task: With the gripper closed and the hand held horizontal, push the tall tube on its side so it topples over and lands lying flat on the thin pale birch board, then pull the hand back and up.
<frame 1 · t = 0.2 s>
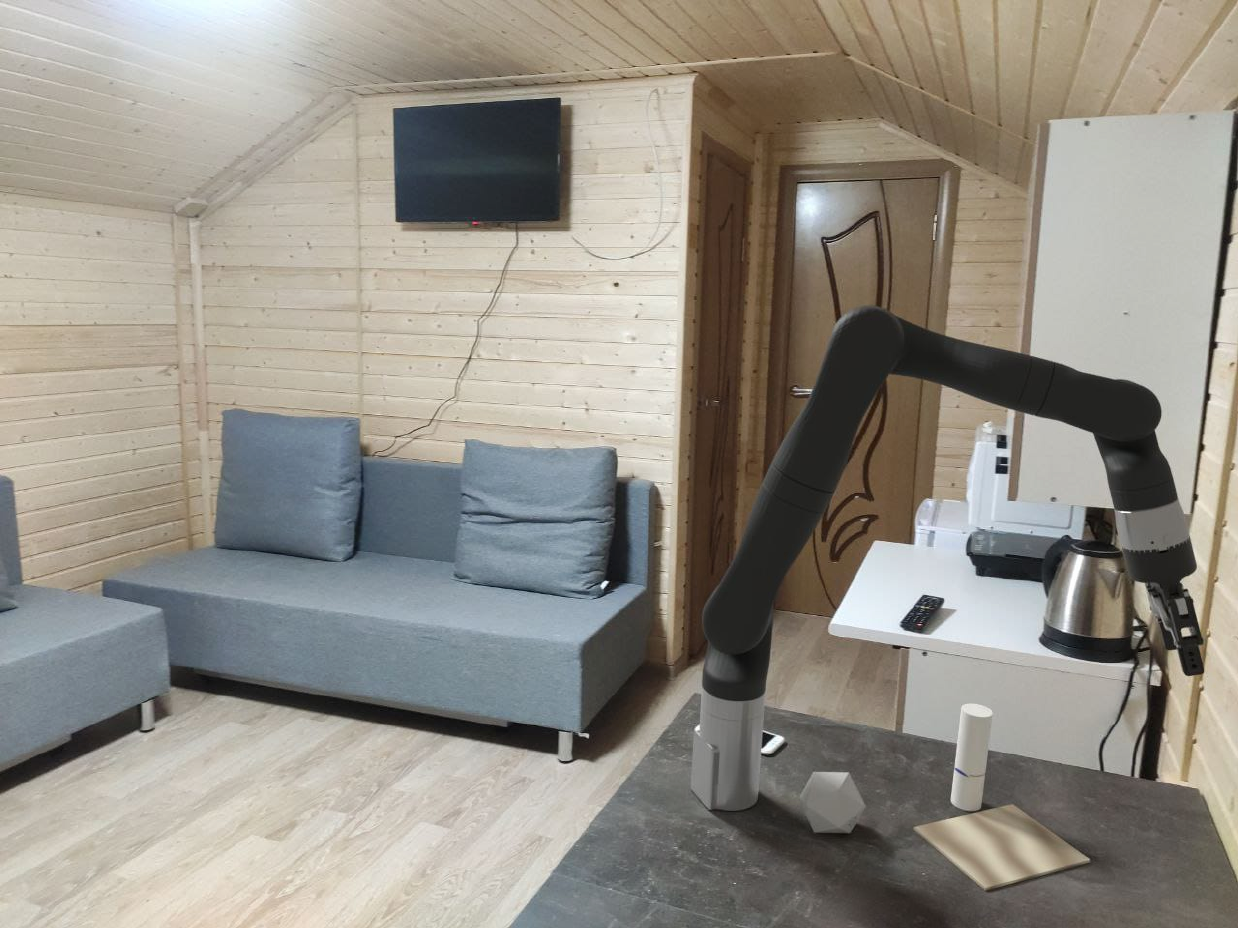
hand: (1184, 661, 116), 31 cm above the table, tool tilted 20°, fingers open, 8 cm apart
birch board: (999, 845, 129), on the table
die: (829, 827, 132), on the table
tube: (965, 804, 139), on the table
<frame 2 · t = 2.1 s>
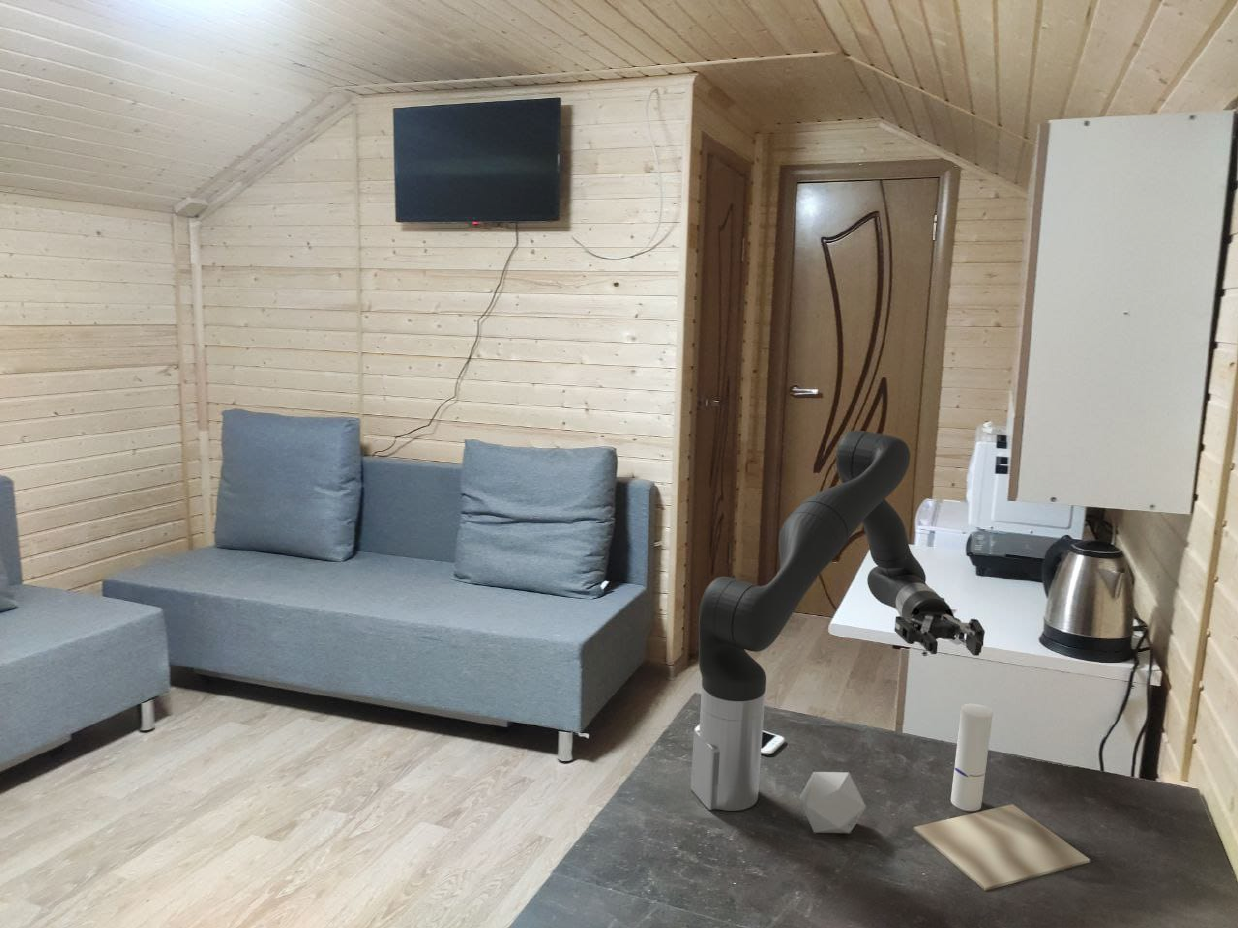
hand: (956, 649, 145), 20 cm above the table, tool horizontal, fingers open, 6 cm apart
nothing on the table moved.
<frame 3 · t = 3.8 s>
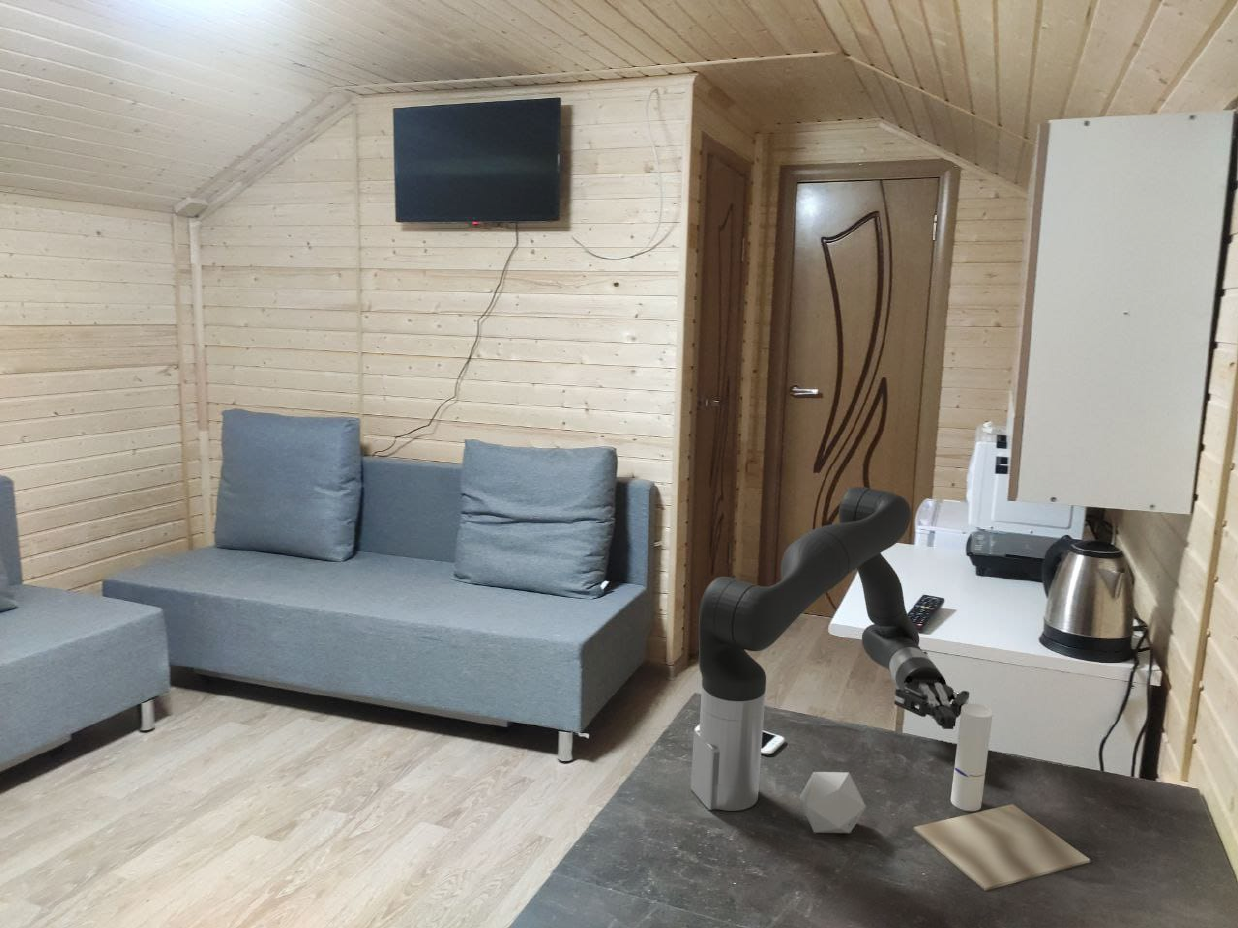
hand: (949, 723, 147), 8 cm above the table, tool horizontal, fingers closed
nothing on the table moved.
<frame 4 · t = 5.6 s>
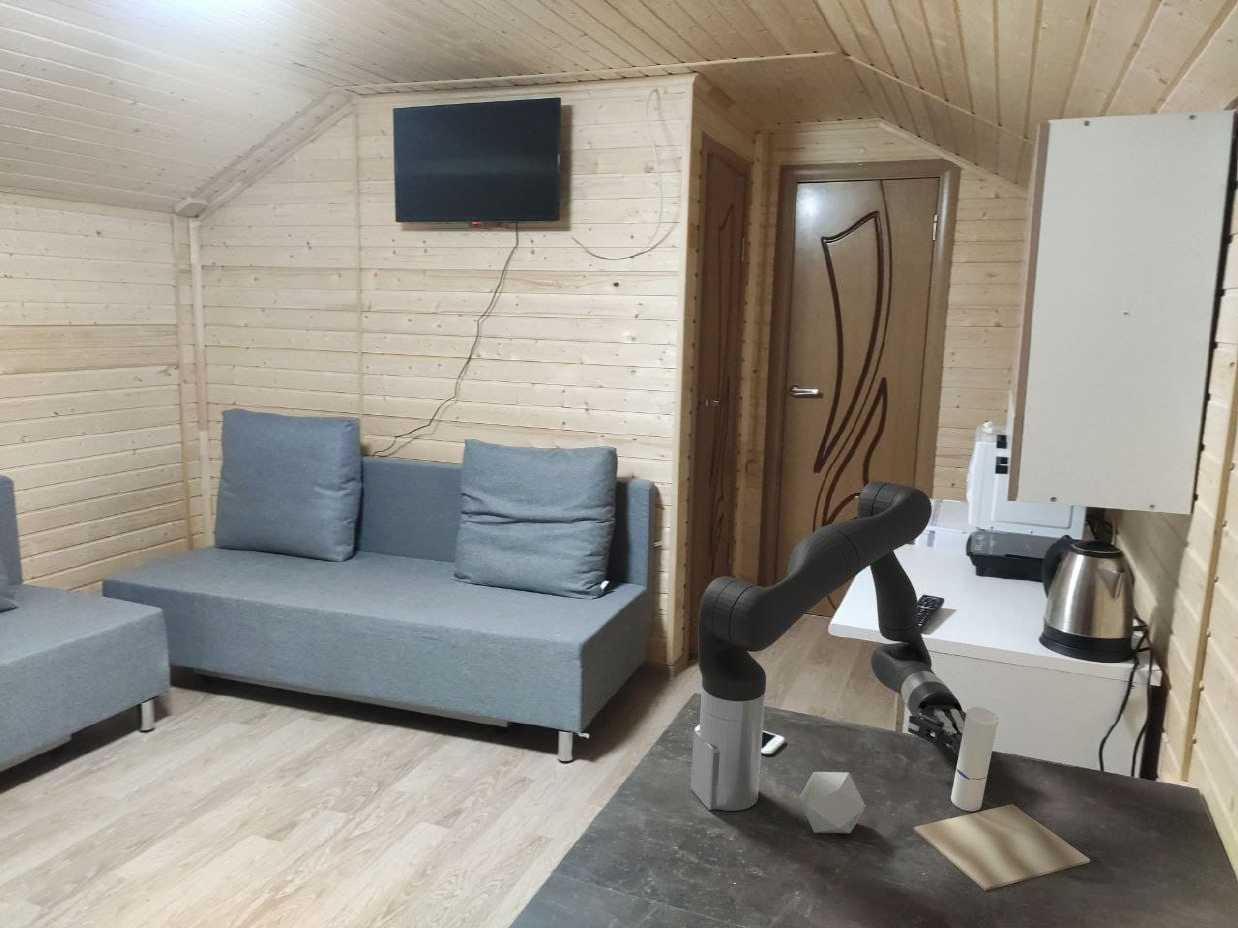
hand: (967, 752, 139), 7 cm above the table, tool horizontal, fingers closed
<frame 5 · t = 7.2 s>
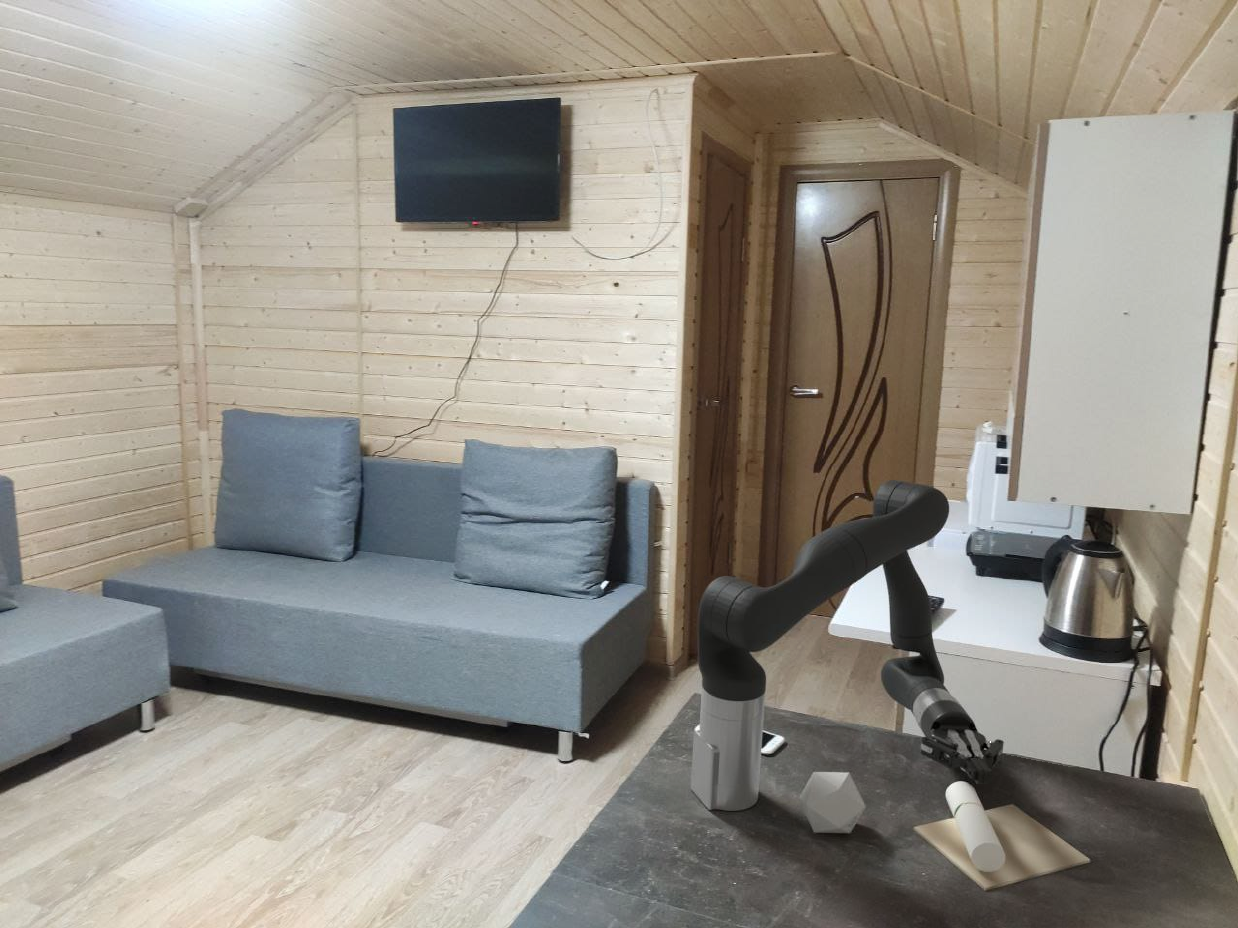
hand: (983, 778, 133), 7 cm above the table, tool horizontal, fingers closed
tube: (960, 793, 137), point 3 cm above the table, touching birch board
everything else where it was.
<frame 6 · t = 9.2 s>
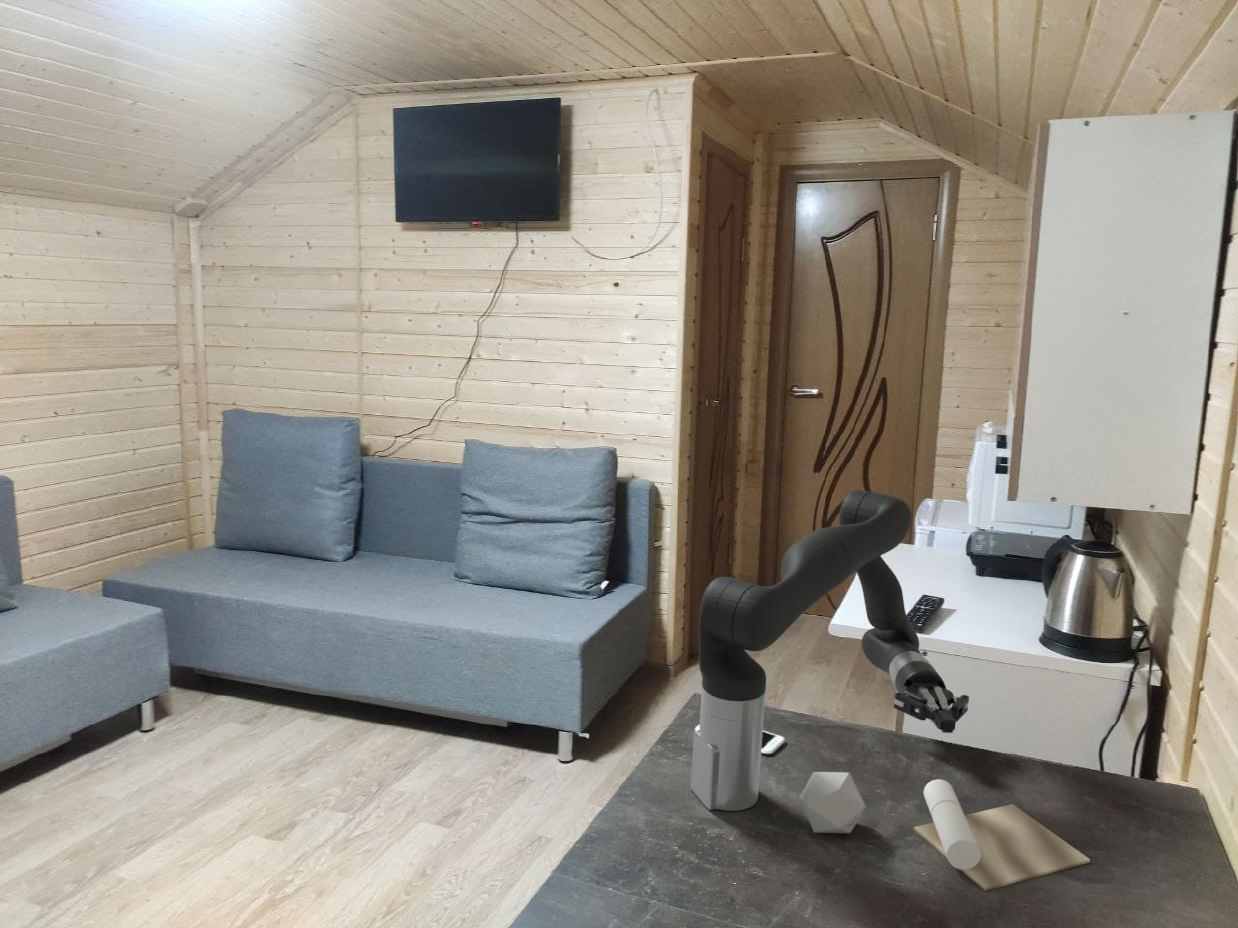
hand: (949, 727, 147), 7 cm above the table, tool horizontal, fingers closed
tube: (938, 791, 137), point 3 cm above the table, touching birch board
everything else where it was.
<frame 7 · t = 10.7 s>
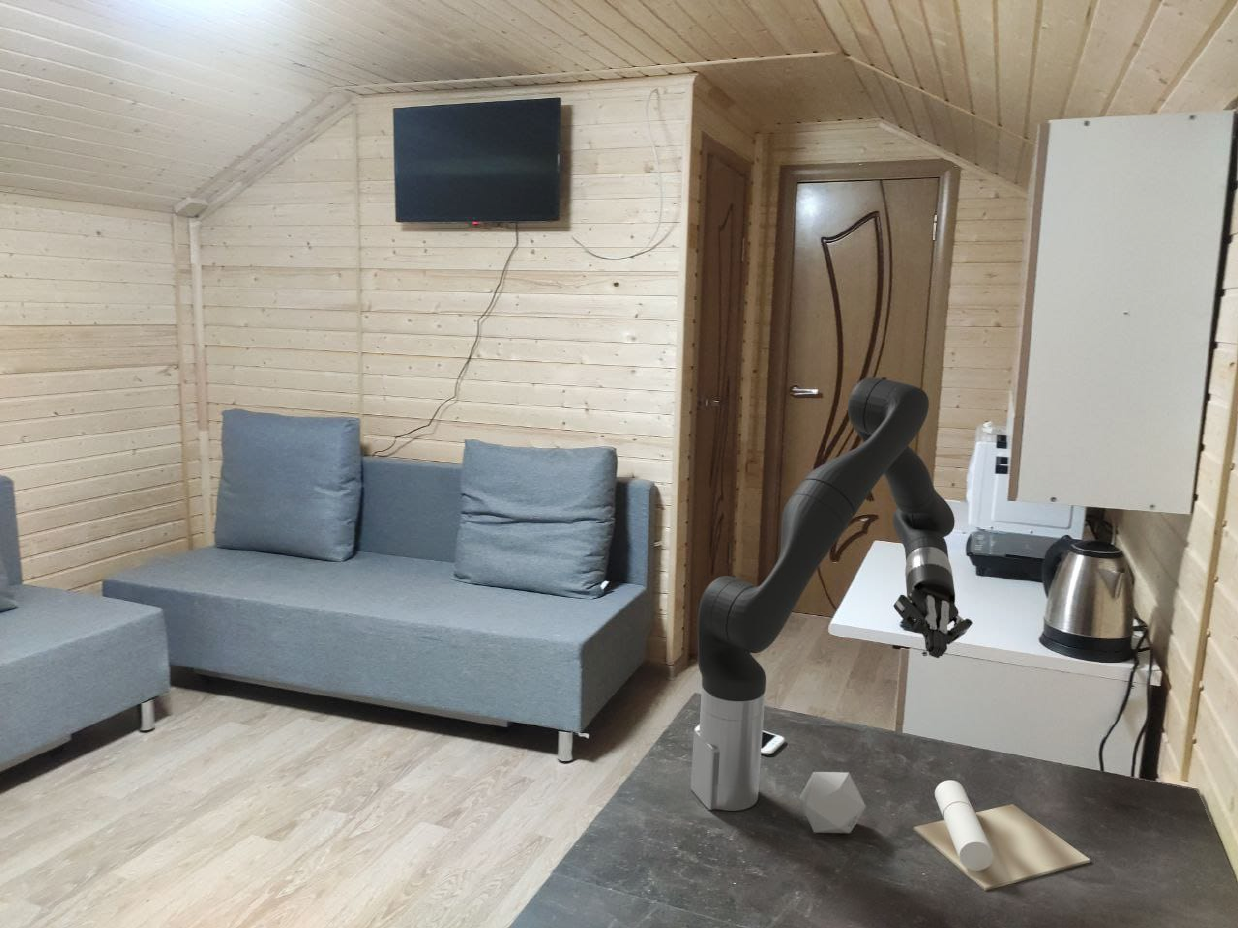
hand: (936, 653, 142), 20 cm above the table, tool tilted 70°, fingers closed
tube: (949, 792, 137), point 3 cm above the table, touching birch board
everything else where it was.
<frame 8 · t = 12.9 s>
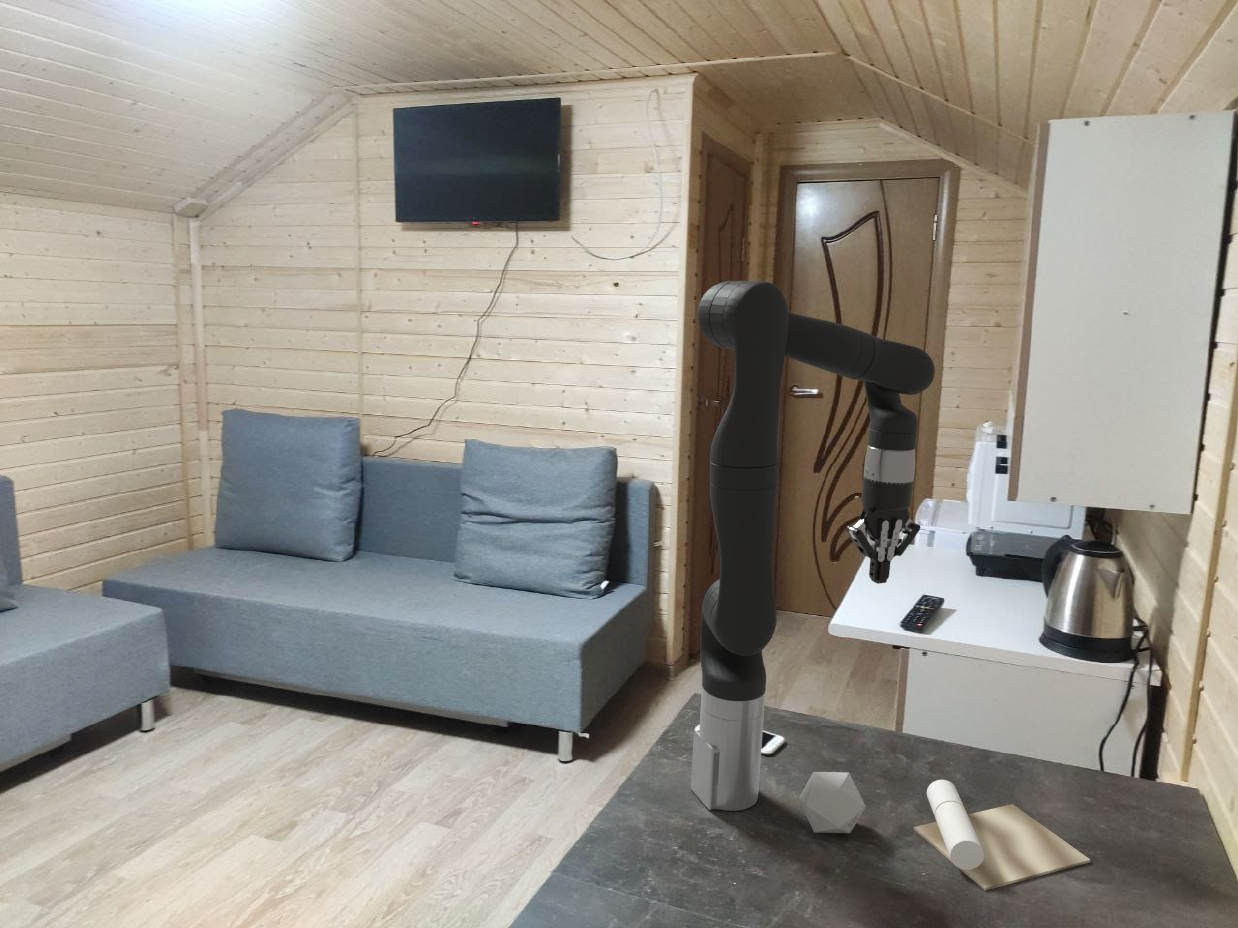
hand: (878, 581, 148), 29 cm above the table, tool pointing down, fingers closed
tube: (941, 792, 137), point 3 cm above the table, touching birch board
everything else where it was.
at the end: tube tilted 90°; tube touching birch board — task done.
